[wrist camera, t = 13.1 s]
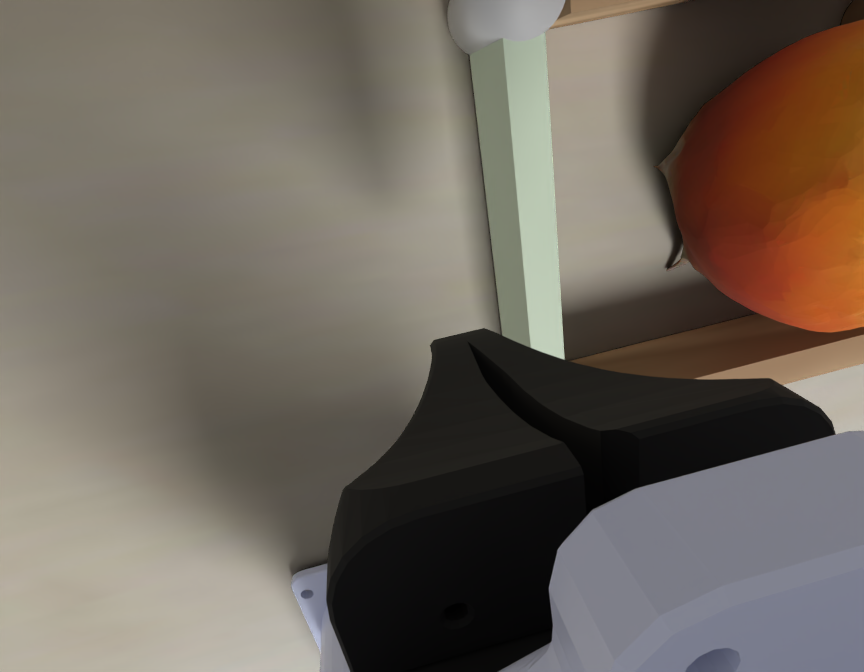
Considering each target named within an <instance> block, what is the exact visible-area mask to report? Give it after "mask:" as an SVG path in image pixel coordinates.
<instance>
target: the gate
mask: <svg viewBox="0 0 864 672" xmlns="http://www.w3.org/2000/svg"><path fill="white" fill-rule="evenodd" d="M564 3H565V0H450V1H449V5H448V12H447V19H448V26H449V30H450V33H451V36H452V38H453V40H454V41H455V43H456V44H457V45H458V47H459V48H460V49H461V50H463V51H464V52H465V53H467V54H469V55H470V64H471V72H472V81H473V90H474V98H475V107H476V115H477V124H478V132H479V141H480V150H481V158H482V167H483V175H484V184H485V192H486V201H487V209H488V218H489V227H490V235H491V244H492V252H493V261H494V269H495V278H496V287H497V295H498V304H499V312H500V321H501V329H502V336H504V337H507V338H509V339H511V340H513V341H516V342H518V343H520V344H523V345H525V346H528V347H530V348H533V349H535V350H538V351H540V352H543V353H546V354H549V355H552V356H555V357H558V358H561V359H564V342H563V325H562V308H561V291H560V274H559V257H558V240H557V223H556V206H555V189H554V172H553V155H552V138H551V121H550V104H549V87H548V70H547V53H546V36H545V31H547V30H548V29H549V28H550V27H551V26H552V25H553V24H554V22H555V21H556V20H557V18H558V17H559V15H560V13H561V11H562V9H563V6H564ZM564 360H565V359H564Z"/></svg>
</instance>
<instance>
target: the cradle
mask: <svg viewBox="0 0 864 672" xmlns="http://www.w3.org/2000/svg"><path fill="white" fill-rule="evenodd" d="M688 1H693V0H565V3H564V6H563V9H562V11H561V13H560V15H559V17H558V18H557V20H556V21H555V22H554V24H553V25H552V26H551V27H550V28H549V29H553V28H558V27H563V26H568V25H573V24H578V23H583V22H588V21H593V20H598V19H603V18H608V17H613V16H618V15H623V14H628V13H633V12H638V11H643V10H648V9H653V8H658V7H663V6H668V5H673V4H678V3H683V2H688ZM863 19H864V0H854V1H853V2H852V3H851V4H850V5H849V7H848V8H847V10H846V12H845V14H844V16H843V19H842V22H841V25H844V24H848V23H852V22H855V21H859V20H863ZM571 362H574V363H578V364H582V365H586V366H591V367H595V368H599V369H604V370H609V371H615V372H621V373H628V374H636V375H643V376H652V377H664V378H681V379H750V378H771V379H773V380H774V381H776V382H778V383H779V384H781V385H784V384H788V383H791V382H795V381H799V380H803V379H806V378H810V377H814V376H818V375H821V374H825V373H829V372H833V371H837V370H840V369H844V368H848V367H852V366H855V365H859V364H863V363H864V327H859V328H855V329H851V330H845V331H838V332H815V331H810V330H806V329H802V328H799V327H795V326H791V325H788V324H785V323H782V322H779V321H776V320H773V319H771V318H768V317H766V316H763V315H761V314H759V313H757V314H753V315H749V316H746V317H742V318H738V319H734V320H730V321H726V322H722V323H718V324H714V325H710V326H706V327H702V328H698V329H694V330H690V331H686V332H682V333H678V334H674V335H670V336H666V337H662V338H658V339H654V340H650V341H646V342H642V343H639V344H635V345H631V346H627V347H623V348H619V349H615V350H611V351H607V352H603V353H599V354H595V355H591V356H587V357H583V358H579V359H575V360H571Z"/></svg>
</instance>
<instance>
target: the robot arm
mask: <svg viewBox="0 0 864 672" xmlns="http://www.w3.org/2000/svg"><path fill="white" fill-rule="evenodd" d="M430 347H431V352H432V363H431V368H430V372H429V377H428V381H427V384H426V387H425V390H424V392H423V395H422V398H421V400H420V403H419V405H418V407H417V409H416V411H415V413H414V415H413V417H412V419H411V420H410V422H409V424H408V425H407V427H406V428H405V430H404V431H403V433H402V434H401V436H400V437H399V439H398V440H397V441H396V442H395V444H394V445H393V446H392V447H391V448H390V449H389V450H388V451H387V452H386V453H385V454H384V455H383V456H382V457H381V458H380V459H379V460H378V461H377V462H376V463H375V464H374V465H373V466H372V467H370V468H369V469H368V470H367V471H365V472H364V473H363V474H362V475H360V476H359V477H358V478H357V479H355V480H354V481H353V482H352V483H350V484H349V485H348V486H346V487H345V488H344V490H343V492H342V495H341V498H340V501H339V505H338V509H337V512H336V516H335V521H334V525H333V530H332V535H331V541H330V546H329V553H328V562H327V564H323V565H320V566H316V567H313V568H309V569H305V570H302V571H299V572H297V573H295V574H294V575H293V577H292V582H291V587H292V590H293V593H294V595H295V597H296V599H297V601H298V604H299V606H300V608H301V610H302V613H303V615H304V617H305V619H306V621H307V624H308V626H309V628H310V630H311V633H312V635H313V637H314V639H315V641H316V644H317V646H318V648H319V650H320V653H321V655H320V672H864V431H848V432H844V433H839V434H835V431H834V427H833V424H832V421H831V420H830V419H829V418H828V417H827V415H826V414H825V413H824V412H823V411H822V409H821V408H819V407H818V406H816V405H814V404H813V403H811V402H809V401H808V400H806V399H804V398H803V397H801V396H799V395H798V394H796V393H794V392H793V391H791V390H789V389H788V388H786V387H784V386H783V385H781V384H779V383H778V382H776V381H774V380H773V379H771V378H750V379H681V378H664V377H652V376H643V375H636V374H628V373H621V372H615V371H609V370H604V369H599V368H595V367H591V366H586V365H582V364H578V363H574V362H571V361H567V360H564V359H561V358H558V357H555V356H552V355H549V354H546V353H543V352H540V351H538V350H535V349H533V348H530V347H528V346H525V345H523V344H520V343H518V342H516V341H513V340H511V339H509V338H507V337H504V336H502V335H500V334H497V333H495V332H493V331H490V330H488V329H484V328H483V329H479V330H474V331H470V332H466V333H462V334H457V335H453V336H449V337H445V338H440V339H436V340H434V341H433V342H432V344H431V345H430ZM306 590H308V591H306Z"/></svg>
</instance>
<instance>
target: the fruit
mask: <svg viewBox="0 0 864 672" xmlns="http://www.w3.org/2000/svg"><path fill="white" fill-rule="evenodd" d="M653 167H656V168H658V169H659V170H660V171H661V172H662V173H663V174H664V175H665V176H666V179H667V182H668V186H669V189H670V193H671V197H672V201H673V205H674V210H675V216H676V220H677V223H678V227H679V229H680V231H681V233H682V237H683V251H682V255H681V259H680V260H679V261H678V262H677V263H676V264H674V265H673V266H671V267H670V268H668V269H667V271H670V270H672V269H674V268H677V267H680V266H682V265H684V264H686V263H688V262H690V263H691V264H692V266H693V267H694V268H695V270H697V271H698V272H700V273H701V274H702V275H703V276H705V277H706V278H707V279H708V280H709V281H710V282H711V283H712V284H713V285H714V286H715V287H716V288H717V289H718V290H719V291H721V292H722V293H723V294H725V295H726V296H728V297H729V298H731V299H732V300H734V301H736V302H738V303H739V304H741V305H743V306H745V307H747V308H748V309H750V310H752V311H754V312H756V313H759V314H761V315H763V316H766V317H768V318H771V319H773V320H776V321H779V322H782V323H785V324H788V325H791V326H795V327H799V328H802V329H806V330H810V331H815V332H838V331H845V330H851V329H855V328H859V327H864V19H863V20H859V21H855V22H852V23H848V24H844V25H841V26H837V27H834V28H830V29H828V30H825V31H821V32H818V33H815V34H813V35H810V36H808V37H805V38H803V39H801V40H799V41H797V42H795V43H793V44H791V45H789V46H787V47H785V48H783V49H782V50H780V51H778V52H777V53H775V54H773V55H772V56H770V57H768V58H767V59H765V60H764V61H762V62H760V63H759V64H757V65H756V66H754V67H753V68H751V69H750V70H748V71H747V72H746V73H744V74H743V75H742V76H740V77H739V78H738V79H737V80H735V81H734V82H733V83H732V84H730V85H729V86H728V87H727V88H725V89H724V90H723V91H721V92H720V93H719V94H718V95H716V96H715V97H714V98H712V99H711V100H709V101H708V102H707V103H705V104H704V105H703V106H702V108H701V109H700V110H699V112H698V113H697V115H696V116H695V117H694V118H693V119H692V121H691V122H690V123H689V125H688V127H687V128H686V130H685V132H684V133H683V135H682V136H681V138H680V139H679V141H678V143H677V145H676V146H675V148H674V149H673V151H672V152H671V153H670V154H669V155H668V156H667V157H666V158H665V159H664V160H663V161H662V162H661V164H660V165H657V166H653Z"/></svg>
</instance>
